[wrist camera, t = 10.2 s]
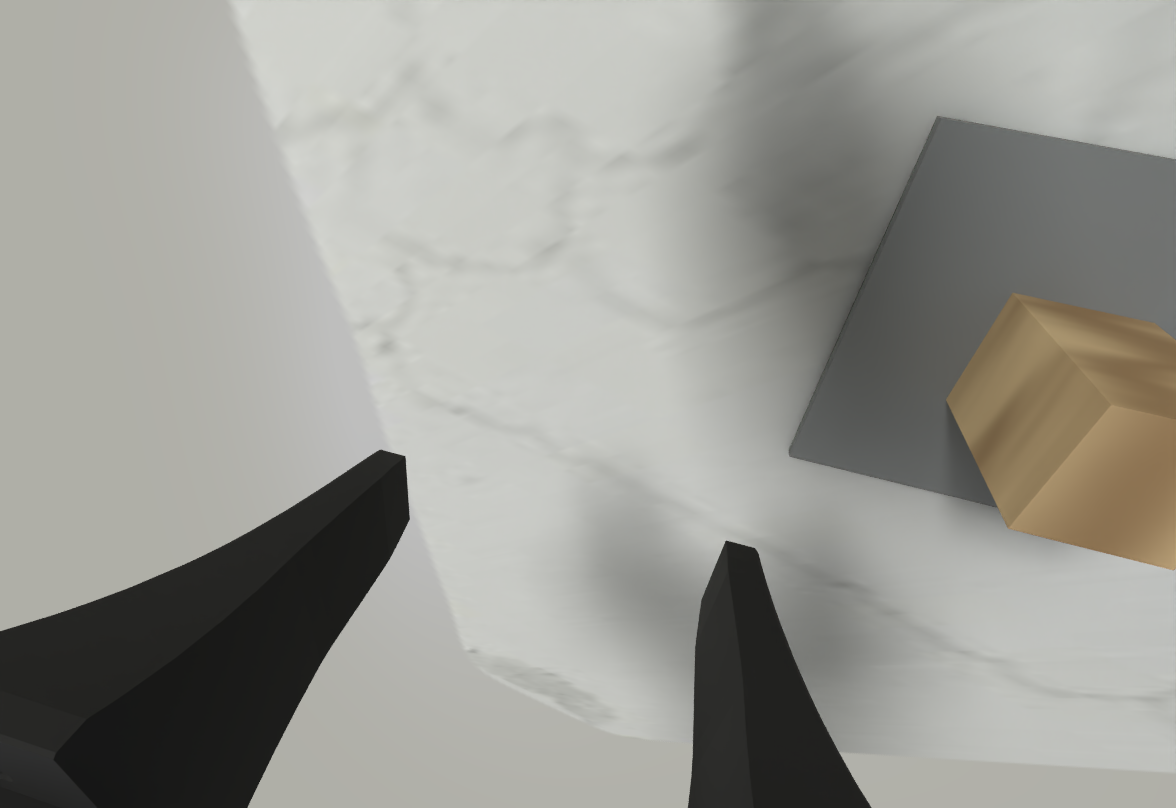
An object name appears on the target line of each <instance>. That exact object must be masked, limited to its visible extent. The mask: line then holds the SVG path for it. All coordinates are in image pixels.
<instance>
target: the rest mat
mask: <svg viewBox="0 0 1176 808" xmlns="http://www.w3.org/2000/svg"><path fill="white" fill-rule="evenodd" d="M1012 293H1017V294H1021V295H1026V296H1031V297H1035V298H1040V299H1045V300H1049V301H1054V302H1059V303H1063V304H1068V305H1073V306H1077V307H1082V308H1087V309H1091V310H1096V311H1101V312H1105V313H1110V314H1115V315H1119V316H1124V317H1129V318H1133V319H1138V320H1143V321H1147V322H1152V323H1155V324H1156V325H1158V326H1159V327H1160V328H1161V329H1163V330H1164V331H1165V332H1166V333H1168V334H1169V335H1170V336H1171V337H1172V338H1174V339H1175V340H1176V159H1170V158H1165V157H1159V156H1154V155H1148V154H1143V153H1137V152H1132V151H1126V150H1121V149H1115V148H1110V147H1104V146H1099V145H1093V144H1088V143H1082V142H1077V141H1071V140H1066V139H1060V138H1055V137H1049V136H1044V135H1038V134H1033V133H1027V132H1022V131H1016V130H1011V129H1005V128H1000V127H994V126H989V125H983V124H978V123H972V122H967V121H961V120H956V119H950V118H945V117H939V116H937V119H936V121H935V123H934V125H933V128H932V130H931V132H930V134H929V137H928V139H927V141H926V143H925V146H924V148H923V150H922V152H921V155H920V157H919V159H918V161H917V164H916V166H915V168H914V170H913V172H912V175H911V177H910V179H909V181H908V184H907V186H906V188H905V190H904V193H903V195H902V197H901V199H900V202H899V204H898V206H897V208H896V211H895V213H894V215H893V217H892V220H891V222H890V224H889V226H888V229H887V231H886V233H885V235H884V238H883V240H882V242H881V244H880V247H879V249H878V251H877V253H876V255H875V258H874V260H873V262H872V264H871V267H870V269H869V271H868V273H867V276H866V278H865V280H864V282H863V285H862V287H861V289H860V291H859V294H858V296H857V298H856V300H855V303H854V305H853V307H852V309H851V312H850V314H849V316H848V318H847V321H846V323H845V325H844V327H843V330H842V332H841V334H840V336H839V338H838V341H837V343H836V345H835V347H834V350H833V352H832V354H831V356H830V359H829V361H828V363H827V365H826V368H825V370H824V372H823V374H822V377H821V379H820V381H819V383H818V386H817V388H816V390H815V392H814V395H813V397H812V399H811V401H810V404H809V406H808V408H807V410H806V413H805V415H804V417H803V419H802V422H801V424H800V426H799V428H798V430H797V433H796V435H795V437H794V439H793V442H792V444H791V446H790V448H789V456H790V457H794V458H798V459H802V460H806V461H810V462H814V463H818V464H822V465H826V466H830V467H834V468H839V469H843V470H847V471H851V472H855V473H859V474H863V475H867V476H871V477H875V478H879V479H883V480H887V481H891V482H896V483H900V484H904V485H908V486H912V487H916V488H920V489H924V490H928V491H932V492H936V493H940V494H944V495H948V496H953V497H957V498H961V499H965V500H969V501H973V502H977V503H981V504H985V505H989V506H993V507H997V505H996V502H995V500H994V498H993V496H992V494H991V492H990V490H989V488H988V486H987V484H986V482H985V480H984V478H983V476H982V473H981V471H980V469H979V467H978V465H977V463H976V461H975V459H974V457H973V455H972V453H971V451H970V449H969V447H968V444H967V442H966V440H965V438H964V436H963V434H962V432H961V430H960V428H959V426H958V424H957V422H956V420H955V418H954V415H953V413H952V411H951V409H950V407H949V405H948V403H947V401H946V399H947V397H948V396H949V394H950V392H951V391H952V389H953V388H954V386H955V384H956V383H957V381H958V380H959V378H960V376H961V375H962V373H963V372H964V370H965V368H966V367H967V365H968V363H969V362H970V360H971V359H972V357H973V355H974V354H975V352H976V351H977V349H978V347H979V346H980V344H981V343H982V341H983V339H984V338H985V336H986V335H987V333H988V331H989V330H990V328H991V327H992V325H993V323H994V322H995V320H996V318H997V317H998V315H999V314H1000V312H1001V310H1002V309H1003V307H1004V306H1005V304H1006V302H1007V301H1008V299H1009V298H1010V296H1011V294H1012ZM997 508H998V507H997Z"/></svg>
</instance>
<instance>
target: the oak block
mask: <svg viewBox="0 0 1176 808" xmlns="http://www.w3.org/2000/svg"><path fill="white" fill-rule="evenodd" d="M946 401H947V403H948V405H949V407H950V409H951V411H952V413H953V415H954V418H955V420H956V422H957V424H958V426H959V428H960V430H961V432H962V434H963V436H964V438H965V440H966V442H967V444H968V447H969V449H970V451H971V453H972V455H973V457H974V459H975V461H976V463H977V465H978V467H979V469H980V471H981V473H982V476H983V478H984V480H985V482H986V484H987V486H988V488H989V490H990V492H991V494H992V496H993V498H994V500H995V502H996V505H997V507H998V509H999V511H1000V513H1001V515H1002V517H1003V519H1004V521H1005V523H1006V525H1007V527H1008V529H1012V530H1016V531H1020V532H1024V533H1028V534H1032V535H1036V536H1040V537H1044V538H1048V539H1052V540H1056V541H1060V542H1063V543H1067V544H1071V545H1075V546H1079V547H1083V548H1087V549H1091V550H1095V551H1099V552H1103V553H1107V554H1111V555H1115V556H1119V557H1123V558H1127V559H1131V560H1135V561H1139V562H1143V563H1147V564H1151V565H1155V566H1159V567H1163V568H1166V569H1170V570H1175V569H1176V340H1175V339H1174V338H1172V337H1171V336H1170V335H1169V334H1168V333H1166V332H1165V331H1164V330H1163V329H1161V328H1160V327H1159V326H1158V325H1156V324H1155V323H1152V322H1147V321H1143V320H1138V319H1133V318H1129V317H1124V316H1119V315H1115V314H1110V313H1105V312H1101V311H1096V310H1091V309H1087V308H1082V307H1077V306H1073V305H1068V304H1063V303H1059V302H1054V301H1049V300H1045V299H1040V298H1035V297H1031V296H1026V295H1021V294H1017V293H1012V294H1011V296H1010V298H1009V299H1008V301H1007V302H1006V304H1005V306H1004V307H1003V309H1002V310H1001V312H1000V314H999V315H998V317H997V318H996V320H995V322H994V323H993V325H992V327H991V328H990V330H989V331H988V333H987V335H986V336H985V338H984V339H983V341H982V343H981V344H980V346H979V347H978V349H977V351H976V352H975V354H974V355H973V357H972V359H971V360H970V362H969V363H968V365H967V367H966V368H965V370H964V372H963V373H962V375H961V376H960V378H959V380H958V381H957V383H956V384H955V386H954V388H953V389H952V391H951V392H950V394H949V396H948V397H947V399H946Z"/></svg>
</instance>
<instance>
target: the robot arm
mask: <svg viewBox="0 0 1176 808" xmlns="http://www.w3.org/2000/svg"><path fill="white" fill-rule="evenodd" d="M409 520H410V517H409V503H408V488H407V473H406V458H405V456H402V455H398V454H395V453H391V452H387V451H383V450H379V451H377V452H376V453H374V454H372V455H371V456H369V457H368V458H366V459H365V460H363V461H362V462H360V463H359V464H357V465H356V466H354V467H353V468H351V469H350V470H348V471H347V472H345V473H344V474H342V475H341V476H339V477H338V478H336V479H335V480H333V481H332V482H330V483H329V484H327V485H326V486H324V487H322V488H321V489H319V490H318V491H316V492H315V493H313V494H311V495H310V496H308V497H307V498H305V499H304V500H302V501H300V502H299V503H297V504H296V505H294V506H293V507H291V508H289V509H288V510H286V511H284V512H283V513H281V514H279V515H278V516H276V517H274V518H272V519H271V520H269V521H267V522H266V523H264V524H262V525H261V526H259V527H257V528H255V529H254V530H252V531H250V532H248V533H246V534H244V535H243V536H241V537H239V538H237V539H235V540H233V541H231V542H230V543H228V544H226V545H224V546H222V547H220V548H218V549H216V550H214V551H212V552H210V553H208V554H206V555H204V556H202V557H199V558H197V559H196V560H193V561H191V562H189V563H187V564H185V565H182V566H180V567H178V568H175V569H173V570H170V571H168V572H166V573H163V574H161V575H159V576H156V577H154V578H152V579H149V580H147V581H145V582H142V583H140V584H138V585H135V586H133V587H130V588H128V589H125V590H123V591H120V592H117V593H115V594H112V595H109V596H107V597H104V598H101V599H98V600H96V601H93V602H90V603H87V604H85V605H81V606H79V607H76V608H73V609H70V610H67V611H64V612H61V613H58V614H55V615H52V616H49V617H46V618H42V619H39V620H36V621H33V622H30V623H26V624H23V625H20V626H16V627H13V628H10V629H7V630H3V631H0V808H247V807H248V805H249V803H250V801H251V799H252V797H253V795H254V792H255V790H256V788H257V786H258V784H259V782H260V780H261V778H262V776H263V774H264V772H265V770H266V768H267V766H268V764H269V761H270V760H271V757H272V755H273V753H274V751H275V749H276V747H277V745H278V743H279V742H280V740H281V738H282V736H283V733H284V731H285V730H286V728H287V726H288V724H289V722H290V720H291V718H292V716H293V714H294V712H295V710H296V708H297V707H298V705H299V703H300V701H301V699H302V697H303V695H304V694H305V692H306V690H307V688H308V686H309V684H310V683H311V681H312V679H313V677H314V675H315V673H316V671H317V670H318V668H319V666H320V664H321V663H322V661H323V659H324V658H325V656H326V654H327V653H328V651H329V650H330V648H331V646H332V645H333V643H334V642H335V640H336V639H337V637H338V636H339V634H340V633H341V631H342V630H343V628H344V627H345V625H346V623H347V622H348V621H349V619H350V618H351V616H352V615H353V613H354V612H355V610H356V609H357V608H358V606H359V605H360V603H361V602H362V600H363V599H364V597H365V595H366V594H367V593H368V591H369V590H370V588H371V587H372V585H373V584H374V582H375V581H376V579H377V578H378V576H379V575H380V573H381V572H382V570H383V569H384V567H385V566H386V564H387V562H388V561H389V559H390V557H391V556H392V554H393V552H394V549H395V548H396V546H397V544H398V542H399V540H400V538H401V536H402V534H403V532H404V530H405V528H406V526H407V524H408V522H409ZM688 808H871V806H870V805H869V803H868V801H867V800H866V798H865V797H864V795H863V793H862V792H861V790H860V789H859V787H858V785H857V784H856V782H855V780H854V779H853V777H852V775H851V773H850V771H849V770H848V768H847V766H846V764H845V763H844V761H843V759H842V757H841V755H840V753H839V752H838V750H837V748H836V746H835V744H834V742H833V740H832V738H831V737H830V735H829V733H828V731H827V729H826V727H825V725H824V723H823V721H822V719H821V717H820V715H819V713H818V711H817V709H816V707H815V705H814V703H813V700H812V698H811V696H810V694H809V692H808V690H807V687H806V685H805V683H804V681H803V678H802V676H801V674H800V672H799V669H798V667H797V665H796V662H795V660H794V657H793V655H792V652H791V650H790V647H789V645H788V642H787V640H786V637H785V634H784V632H783V629H782V627H781V624H780V621H779V618H778V616H777V613H776V610H775V607H774V604H773V601H772V598H771V595H770V592H769V589H768V586H767V583H766V579H765V576H764V573H763V569H762V565H761V562H760V558H759V554H758V552H757V551H756V549H755V548H752V547H748V546H745V545H741V544H737V543H733V542H729V541H726V542H725V544H724V547H723V549H722V551H721V554H720V556H719V559H718V561H717V564H716V566H715V568H714V571H713V573H712V576H711V578H710V581H709V583H708V585H707V588H706V590H705V593H704V595H703V598H702V601H701V608H700V615H699V622H698V630H697V638H696V646H695V682H694V727H693V760H692V777H691V786H690V795H689V803H688Z"/></svg>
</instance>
